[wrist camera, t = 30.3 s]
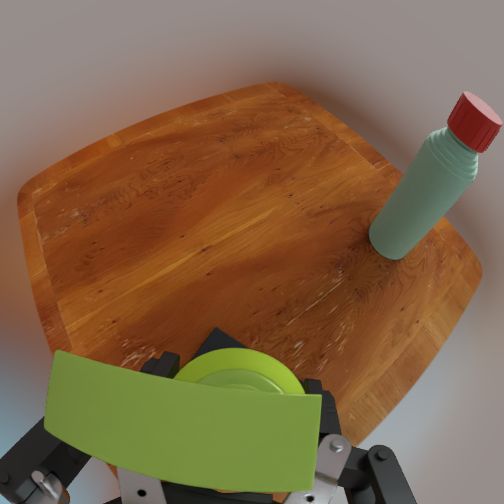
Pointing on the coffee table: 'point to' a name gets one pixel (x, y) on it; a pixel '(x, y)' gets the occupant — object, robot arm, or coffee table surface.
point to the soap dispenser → (191, 420)
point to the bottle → (424, 193)
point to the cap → (474, 122)
